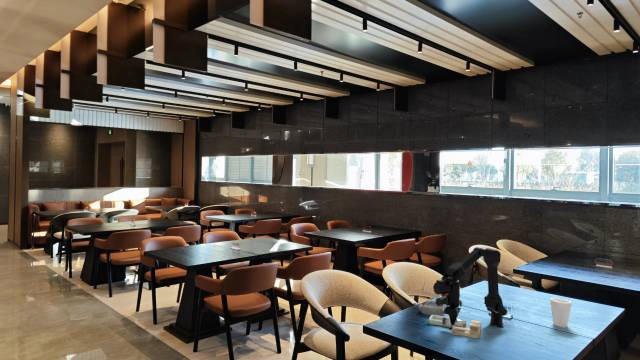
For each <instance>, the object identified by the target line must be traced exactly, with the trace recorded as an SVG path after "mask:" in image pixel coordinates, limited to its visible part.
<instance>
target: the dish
mask: <svg viewBox="0 0 640 360" xmlns="http://www.w3.org/2000/svg"><path fill="white" fill-rule="evenodd" d="M445 307H446V304H444V305H440V306H437V304H436V301H435V300H427V301H426V302H425V304H424V305H423V304H422V303H420V304H419V305H418V309H419V310H420V313H421V314H424V315H427V316H431V315H437V316H444V315H445V314H444V309H445Z"/></svg>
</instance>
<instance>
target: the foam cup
mask: <svg viewBox="0 0 640 360" xmlns="http://www.w3.org/2000/svg"><path fill="white" fill-rule="evenodd" d="M571 307H572V301H571V300H570V299H569V300H568V299H566V298H563V297H562V298H561V297H560V298H559V297H551V298H550V308H551V316H552V317H551V318H552V324H553V326H556V327H558V326H559V328H568V325H569V318H570V313H571Z"/></svg>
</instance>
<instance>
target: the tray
mask: <svg viewBox="0 0 640 360" xmlns="http://www.w3.org/2000/svg"><path fill="white" fill-rule="evenodd" d="M443 317H444V318H449V316H444V315H441V316H437V315H429V318H428V324H429V325H435V326H439V327H446V328H451V329H453V326H449V325H443V324H442V319H443ZM457 320H463V319H460V318H457Z"/></svg>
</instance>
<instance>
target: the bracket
mask: <svg viewBox="0 0 640 360" xmlns="http://www.w3.org/2000/svg"><path fill="white" fill-rule="evenodd" d="M469 326H470V327H466V328H461V327H455V326H453V328H451V335H457V336H461V337H468V338H473V339H477V340H478V339H479V340H480V338H481V335H482V321H481V320H477V319H476V320H475V319H471V322H470V325H469Z"/></svg>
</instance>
